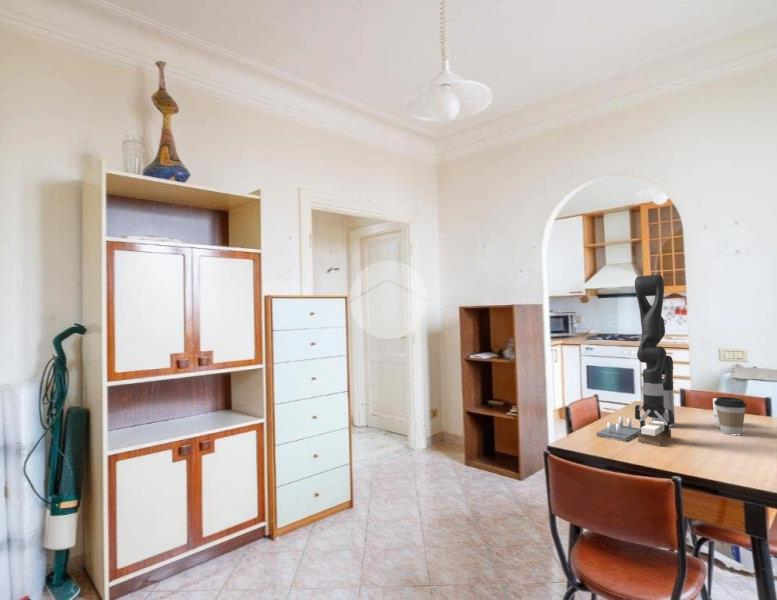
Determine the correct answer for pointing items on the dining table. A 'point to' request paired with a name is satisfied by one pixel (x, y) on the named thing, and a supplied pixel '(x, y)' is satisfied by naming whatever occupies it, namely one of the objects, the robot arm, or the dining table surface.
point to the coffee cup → (730, 414)
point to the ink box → (715, 411)
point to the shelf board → (653, 428)
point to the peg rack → (619, 430)
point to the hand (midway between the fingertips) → (654, 431)
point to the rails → (653, 438)
